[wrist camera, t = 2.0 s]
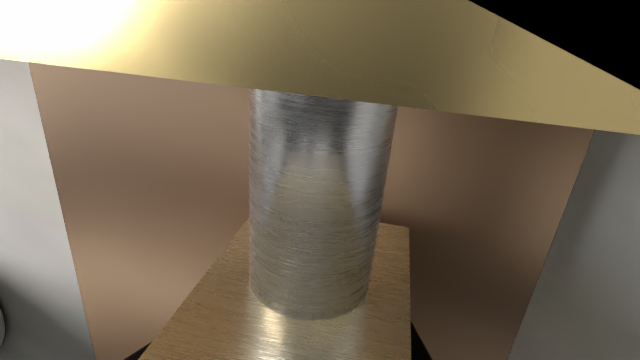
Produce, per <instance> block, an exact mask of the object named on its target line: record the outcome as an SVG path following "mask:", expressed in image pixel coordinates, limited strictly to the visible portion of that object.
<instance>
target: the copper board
mask: <svg viewBox="0 0 640 360" xmlns="http://www.w3.org/2000/svg"><path fill="white" fill-rule="evenodd" d="M565 2H566V3H565ZM530 7H531V8H530ZM587 11H588V12H587ZM543 13H544V14H543ZM639 13H640V0H501V3H500V9H499V17H501V18H503V19H505V20H507V21H509V22H511V23H513V24H515V25H517V26H519V27H520V28H522V29H524V30H526V31H528V32H530V33H532V34H534V35H536V36H538V37H540V38H541V39H543V40H545V41H547V42H549V43H551V44H553V45H555V46H557V47H559V48H561V49H562V50H564V51H566V52H568V53H570V54H572V55H574V56H576V57H578V58H580V59H582V60H584V61H585V62H587V63H592V64H603V65H613V66H619V65H620V63H621V60H622V58H623V55H624V52H625V50H626V47H627V44H628V42H629V39H630V37H631V34H632V31H633V29H634V26H635V24H636V21H637V18H638V16H639ZM550 20H551V21H550ZM28 63H29V67H30V72H31V76H32V81H33V85H34V90H35V94H36V98H37V103H38V107H39V112H40V116H41V121H42V125H43V129H44V134H45V138H46V143H47V147H48V151H49V156H50V160H51V165H52V169H53V174H54V178H55V182H56V187H57V191H58V196H59V200H60V205H61V209H62V213H63V218H64V222H65V227H66V231H67V236H68V240H69V244H70V249H71V253H72V258H73V262H74V266H75V271H76V275H77V280H78V284H79V289H80V293H81V297H82V302H83V306H84V311H85V315H86V320H87V324H88V328H89V333H90V337H91V342H92V346H93V351H94V355H95V359H96V360H123V359H125V358H126V357H128V356H130V355H131V354H133V353H134V352H136V351H137V350H139V349H141V348H142V347H144V346H145V345H147V344H148V343H150V342H152V341H153V340H154V339H155V337H156V336H157V335H158V333H159V332H160V331H161V330H162V328H163V327H164V326H165V324H166V323H167V322H168V321H169V319H170V318H171V317H172V315H173V314H174V313H175V312H176V310H177V309H178V308H179V306H180V305H181V304H182V303H183V301H184V300H185V299H186V298H187V296H188V295H189V294H190V292H191V291H192V290H193V289H194V287H195V286H196V285H197V283H198V282H199V281H200V280H201V278H202V277H203V276H204V274H205V273H206V272H207V271H208V269H209V268H210V267H211V265H212V264H213V263H214V262H215V260H216V259H217V258H218V256H219V255H220V254H221V253H222V251H223V250H224V249H225V247H226V246H227V245H228V244H229V242H230V241H231V240H232V239H233V237H234V236H235V235H236V233H237V232H238V231H239V230H240V228H241V227H242V226H243V224H244V223H245V222H246V221H247V219H248V218H249V88H243V87H234V86H226V85H218V84H209V83H201V82H192V81H184V80H176V79H167V78H159V77H151V76H142V75H134V74H125V73H117V72H109V71H100V70H92V69H83V68H75V67H67V66H58V65H50V64H42V63H33V62H28ZM594 131H595V129H586V128H578V127H570V126H561V125H553V124H544V123H536V122H528V121H519V120H511V119H503V118H494V117H486V116H477V115H469V114H461V113H452V112H444V111H435V110H427V109H419V108H410V107H402V106H398V110H397V116H396V123H395V129H394V135H393V141H392V147H391V154H390V160H389V166H388V172H387V179H386V185H385V191H384V197H383V203H382V210H381V216H380V223H386V224H392V225H398V226H404V227H409V261H410V320H411V321H412V323H413V325H414V327H415V329H416V330H417V332H418V334H419V336H420V338H421V340H422V341H423V343H424V345H425V347H426V349H427V351H428V352H429V354H430V356H431V358H432V360H507V359H508V356H509V354H510V351H511V348H512V346H513V343H514V340H515V338H516V335H517V333H518V330H519V327H520V325H521V322H522V319H523V317H524V314H525V312H526V309H527V306H528V304H529V301H530V299H531V296H532V293H533V291H534V288H535V285H536V283H537V280H538V278H539V275H540V272H541V270H542V267H543V264H544V262H545V259H546V257H547V254H548V251H549V249H550V246H551V244H552V241H553V238H554V236H555V233H556V230H557V228H558V225H559V223H560V220H561V217H562V215H563V212H564V209H565V207H566V204H567V202H568V199H569V196H570V194H571V191H572V189H573V186H574V183H575V181H576V178H577V175H578V173H579V170H580V168H581V165H582V162H583V160H584V157H585V154H586V152H587V149H588V147H589V144H590V141H591V139H592V136H593V134H594Z"/></svg>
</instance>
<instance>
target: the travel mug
mask: <svg viewBox="0 0 640 360" xmlns="http://www.w3.org/2000/svg"><path fill="white" fill-rule="evenodd" d="M4 337H5V324H4V318H3V313H2V311H1V308H0V347H1V344H2V342H3V339H4Z"/></svg>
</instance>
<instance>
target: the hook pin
mask: <svg viewBox="0 0 640 360" xmlns="http://www.w3.org/2000/svg"><path fill="white" fill-rule="evenodd" d="M397 110H398V106H394V105H385V104H377V103H368V102H360V101H352V100H343V99H335V98H327V97H318V96H310V95H301V94H293V93H285V92H276V91H268V90H259V89H251V88H249V218H248V219H247V221H246V222H245V223H244V224H243V226H242V227H241V228H240V230H239V231H238V232H237V233H236V235H235V236H234V237H233V239H232V240H231V241H230V242H229V244H228V245H227V246H226V247H225V249H224V250H223V251H222V253H221V254H220V255H219V256H218V258H217V259H216V260H215V262H214V263H213V264H212V265H211V267H210V268H209V269H208V271H207V272H206V273H205V274H204V276H203V277H202V278H201V280H200V281H199V282H198V283H197V285H196V286H195V287H194V289H193V290H192V291H191V292H190V294H189V295H188V296H187V298H186V299H185V300H184V301H183V303H182V304H181V305H180V306H179V308H178V309H177V310H176V312H175V313H174V314H173V315H172V317H171V318H170V319H169V321H168V322H167V323H166V324H165V326H164V327H163V328H162V330H161V331H160V332H159V333H158V335H157V336H156V337H155V339H154V340H153V341H152V342H151V344H150V345H149V346H148V348H147V349H146V350H145V351H144V353H143V354H142V355H141V357H140V358H139V359H138V360H411V321H410V261H409V227H404V226H398V225H392V224H386V223H380V216H381V210H382V203H383V197H384V191H385V185H386V179H387V172H388V166H389V160H390V154H391V147H392V141H393V135H394V129H395V123H396V116H397Z"/></svg>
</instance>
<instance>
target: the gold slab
mask: <svg viewBox="0 0 640 360" xmlns="http://www.w3.org/2000/svg"><path fill="white" fill-rule="evenodd" d="M500 3H501V0H0V59H8V60H16V61H25V62H33V63H42V64H50V65H58V66H67V67H75V68H83V69H92V70H100V71H109V72H117V73H125V74H134V75H142V76H151V77H159V78H167V79H176V80H184V81H192V82H201V83H209V84H218V85H226V86H234V87H243V88H251V89H259V90H268V91H276V92H285V93H293V94H301V95H310V96H318V97H327V98H335V99H343V100H352V101H360V102H368V103H377V104H385V105H394V106H402V107H410V108H419V109H427V110H435V111H444V112H452V113H461V114H469V115H477V116H486V117H494V118H503V119H511V120H519V121H528V122H536V123H544V124H553V125H561V126H570V127H578V128H586V129H595V130H603V131H611V132H620V133H628V134H637V135H640V13H639V16H638V18H637V21H636V24H635V26H634V29H633V31H632V34H631V37H630V39H629V42H628V44H627V47H626V50H625V52H624V55H623V58H622V60H621V63H620V65H619V66H613V65H603V64H592V63H587V62H585V61H584V60H582V59H580V58H578V57H576V56H574V55H572V54H570V53H568V52H566V51H564V50H562V49H561V48H559V47H557V46H555V45H553V44H551V43H549V42H547V41H545V40H543V39H541V38H540V37H538V36H536V35H534V34H532V33H530V32H528V31H526V30H524V29H522V28H520V27H519V26H517V25H515V24H513V23H511V22H509V21H507V20H505V19H503V18H501V17H499V9H500ZM565 3H566V2H565ZM530 8H531V7H530ZM587 12H588V11H587ZM543 14H544V13H543ZM550 21H551V20H550Z"/></svg>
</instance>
